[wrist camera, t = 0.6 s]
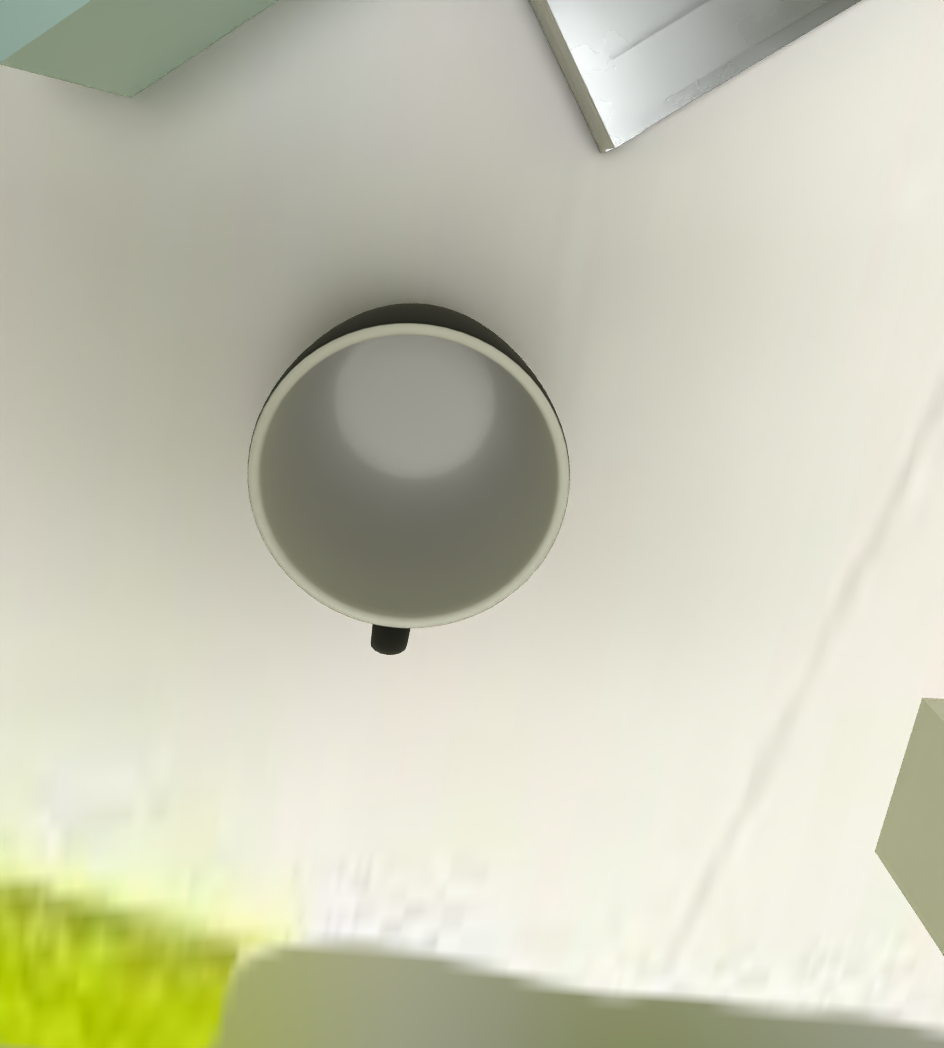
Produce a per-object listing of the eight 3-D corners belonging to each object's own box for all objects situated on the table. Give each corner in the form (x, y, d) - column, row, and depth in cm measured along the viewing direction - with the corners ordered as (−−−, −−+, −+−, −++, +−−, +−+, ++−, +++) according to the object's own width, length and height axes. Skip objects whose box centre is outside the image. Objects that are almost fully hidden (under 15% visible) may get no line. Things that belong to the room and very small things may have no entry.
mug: (305, 262, 32) (254, 299, 23) (550, 297, 33) (600, 345, 24) (283, 566, 36) (232, 703, 27) (501, 590, 37) (526, 732, 28)
